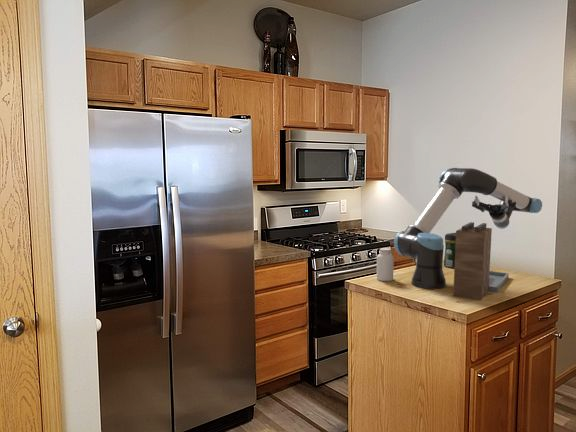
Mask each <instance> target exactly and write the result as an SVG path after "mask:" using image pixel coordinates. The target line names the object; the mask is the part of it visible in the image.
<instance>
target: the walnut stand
mask: <svg viewBox="0 0 576 432" xmlns="http://www.w3.org/2000/svg"><path fill="white" fill-rule="evenodd" d="M492 231H493V228H492V227H487V223H485V222H482V223H480V224H479V225H477V226H475V221H473V222H472V221H470V222H468V223H466V224H464V225H462V226H461V228H459V229H457V230H456V231H455V233H456V246H455V268H453V269H454V273H453V291H452V292H453V293H452V294H453V295H452V296H453V297H456V298H462V299H468V300H474V301H482V300H483V298H484V297H486V295H487V294H488V293H489V291H488V290H489V271H491V270H490V268H491V266H490V265H491V253H492V252H491V251H492V250H491V249H492V248H491V247H492V233H493V232H492Z"/></svg>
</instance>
